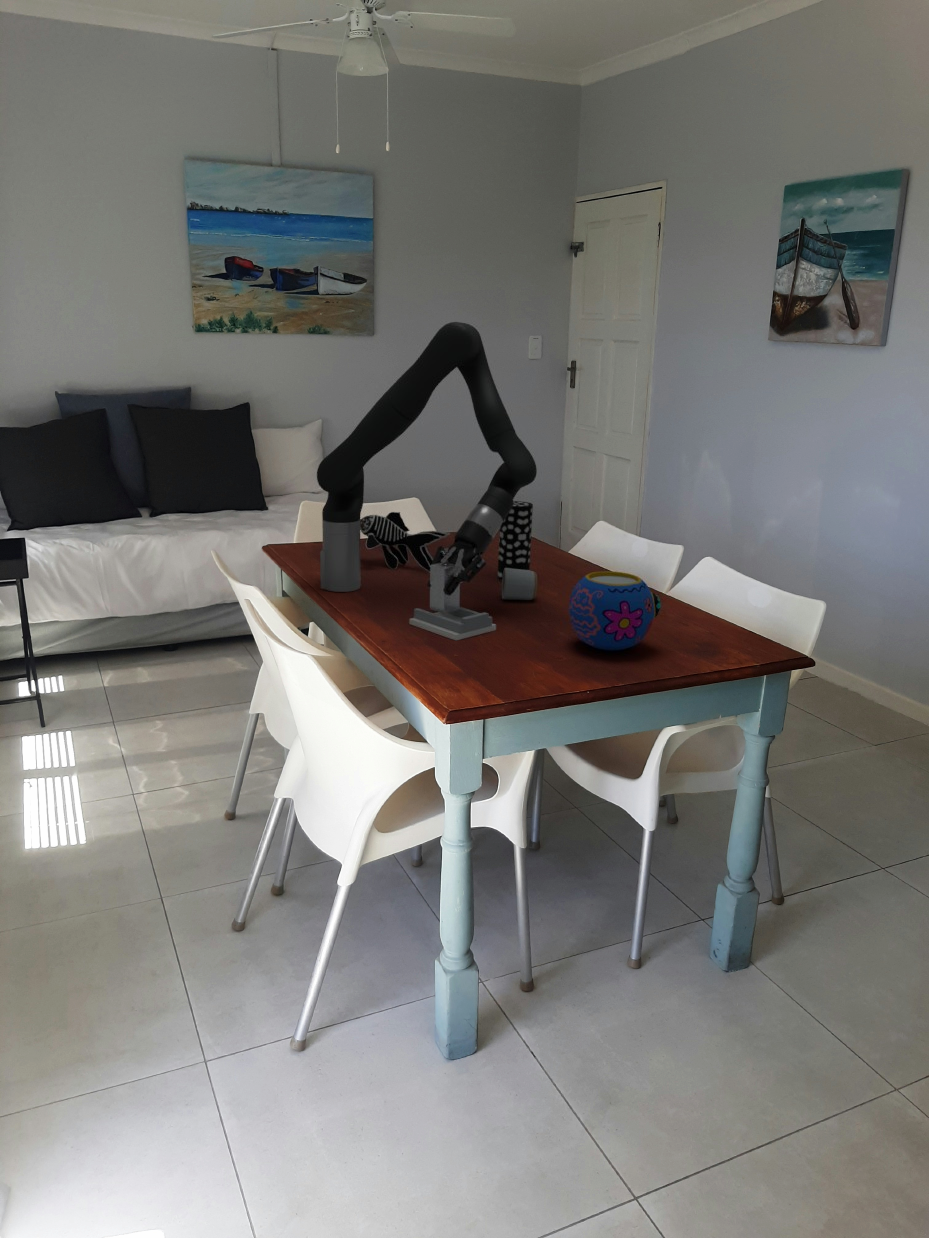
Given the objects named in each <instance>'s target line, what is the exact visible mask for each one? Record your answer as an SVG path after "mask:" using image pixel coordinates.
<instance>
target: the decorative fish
mask: <svg viewBox="0 0 929 1238" xmlns="http://www.w3.org/2000/svg"><path fill="white" fill-rule="evenodd" d="M408 532H411V531H410V529H409V528H408V526H406V523H405V522H404V519H403V518H402V516H401V512H400V511H398V512H397V511H391V512H389V513H388V514H387V515H386V516H382V515H378V514H370V515H365V516H364V517H361V518H360V533H362V534H363V535H364V536H366V537H367V539H366V542H365V547H366V549H367V550H371V549H374V548H376V547H378V546H381V547H380V548H381V550H382V554H383V559H384V560H385V561H384V562H385V563H386V565H387V567H388V568H390V569H391V570H396V569H397V568H398V564H400V565H402V566H406V565H407V564H408V563H409V560H410V558H409V553H410V555H411V557H412V558H413V559H414V560H415V563H417V564H418V565H419V566H420V567H421V568H422V569H424V570H425V571H427V572H428V573H430V565H431V564H432V561H433V559H434V557H433V556H432V555H431V553H430V552H429V551H428V548H427V546H428V545H430V544H432V543H435V542H437V541H440V540H441V539H444V538H447V537H448V536H451V533H449V532H444V531H440V530H427V531H425V530H424V531H419V532H417V533H408ZM395 546H396V547H395Z"/></svg>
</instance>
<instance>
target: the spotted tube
mask: <svg viewBox="0 0 929 1238" xmlns="http://www.w3.org/2000/svg"><path fill="white" fill-rule="evenodd" d="M513 502H514V503H513V506H512V509H511V510H510V512H509V514H508V515H507V517H506V518H505V520H504V521H503V523H502V524H501V526H500V529H499V531H498V557H497V577H496V578H497V580H498V581H499V582H502V579H503V571H504V568H512V569H521V570H530V569H531V568H530V567H531V550H532V549H531V546H532V532H533V531H532V528H533V509H534V508H533V507H534V506H533V503H532V502H527V501H521V500H520V501H519V500H513ZM530 571H531V570H530Z"/></svg>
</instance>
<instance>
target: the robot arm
mask: <svg viewBox="0 0 929 1238" xmlns="http://www.w3.org/2000/svg"><path fill="white" fill-rule="evenodd" d="M485 351H486V350H485V346H484V344H483V340H482V337H481V334H480V332H479V331H478V329H476V327H475V326H473V325H471V324H470V323H467V322H466V323H465V322H459V321H451V322H449V323H445V324H444V325H443V326H442V327H440V328H439V329H438V331H437V332H436V333H435V335H434V336H433V337H432V339H431V340H430V341H429V343H428V344H427V346H426V347H425V349H424V350H423V351H422V352H421V354H420V355H419V356H418V358H417V359H416V360H415V362H414V363H413V364H412V365H411V366H410V367H409V368H408V369H406V371H404V372H403V374H401V376H400V377H399V378H398V379H397V380H396V381H395V382H394V383H393V384H392V385H391V386H390V387H389V388H388V389H387V390H386V391H385V392H384V393H383V394H382V395H381V397H380V398H379V399H378V400H377V401H376V402H375V403H374V405H373V406H372V407H371V409H370V410H369V411H368V412H367V414H365V416H364V417H363V418H362V419H361V421H360V422H359V423H358V424H357V426H356V427H355V428H354V429H353V431H351V433H350V434H349V436H348V437H347V438H346V439H344V441H342V442H341V443H340V444H339V445H338V446H337V447H335V449H333V450H332V451H331V452H330V453H329V454H328V455H326V456H325V457H324V458H323V459H322V460H321V462H320V463H319V465H318V467H317V469H316V481H317V483H318V486H319V487H320V488H321V489H322V490H323V491H325V492H326V493H327V494H328V495H327V499H326V502H325V504H324V506H323V507H322V512H321V517H322V518H321V519H322V524H321V525H322V549H321V550H320V551H319V553H320V556H319V557H320V558H319V561H320V563H319V564H320V568H319V569H320V571H319V572H320V573H319V574H320V589H321V590H326V591H328V592H329V591H330V592H337V593H339V592H341V593H344V592H346V593H347V592H354V591H357V590H359V589H360V588H361V582H362V581H361V580H362V579H361V530H360V519H361V515H362V514H361V513H362V509H363V505H364V496H365V495H364V489H365V470H364V467H365V466H366V465H367V464H368V462H369V461H371V459H372V458H373V457H374V456H375V455H377V454H378V453H380V451H382V450H383V449H385V448H387V447H388V446H389V445H390V444H392V443H393V442H394V441H396V440H397V439H398V438H399V437H400V436H401V435H403V434H404V433H405V432H406V431H407V430H408V428H410V426H411V425H412V424H413V423H414V422H415V421H416V420H417V419H418V418H419V416H420V415H422V412H423V411H424V409H425V408H426V406H427V404H428V402H429V400H430V398H431V396H432V394H433V393H434V391H435V390H436V388H437V387H438V386H439V384H440V383H441V382H442V381H443V380H444V379H445V378H446V377H447V376H448V375H450V373H451V372H452V371H454V370H455V369H457V370H459V372H460V374H461V376H462V378H463V380H464V381H465V383H466V386H467V389H468V391H469V395H470V399H471V401H472V402H471V403H472V406H473V407H472V408H473V411H474V412H473V413H474V415H475V419H476V422H477V424H478V427H479V429H480V432H481V434H482V437H483V438H484V441H485V444H486V445H487V446H488V448H489V450H490V451H491V452H493V453H497V454H498V455H499V457H500V458H501V460H502V461H503V463H502V464H501V465H500V466H499V467H498V468H497V469H496V471H495V473H494V474H493V476H492V478H491V481H490V482H489V485H488V488H487V490H486V491H485V492H484V494H483V495H482V496H481V498H480V499H479V501H478V502H477V504H476V505H475V506H474V507H473V509H472V510H471V511H470V513H469V514H468V515H467V516H466V518H465V519H464V521H463V523H462V524H461V526H460V527H459V528H458V530H457V531H456V533H455V535H454V542H453V543H452V544H451V545H449V547H445V548H444V547H443V546H442V545H440V546H438V547H437V549H436V551H435V554H434V556H433V561H432V564H431V565H433V564H438V563H447V562H448V563H452V564H455V566H457V569H456V570H455V572H454V575H453V576H454V577H451V578H450V580H449V582H448V583H447V585H446V586H445V588H444V589H443V591H444V592H445V593H446V594H447V595H449V596H450V595H451V594H452V593H453V592H454V591H455V590H456V588H457V587H458V585H459V584H460V585H461V584H462V583H463V582H466V583H469V582H471V581H472V580H473V579H474V578H475V577H476V575H478V574H479V572H480V571H481V570H482V569H483V568H484V567H485V566H486V564H487V563H486V561H485V559H484V558H483V557H482V556H483V555H484V553H485V552H486V551H487V549H488V547H489V546H490V545H491V543H492V542H493V540H494V538H495V536H496V535H497V534H498V533H499V530H500V526H501V524H502V523H503V521H504V520H505V518H506V517H507V515H508V514H509V512H510V510H511V509H512V506H513V503H514V502H513V501H514V499H515V497H516V495H517V494H518V492H519V491H520V490H521V489H522V488H524V487H526V486H528V485H530V484H532V483H533V482H534V481H535V479H536V477H537V473H538V472H537V464H536V461H535V459H534V457H533V455H532V453H531V452H530V451H529V449H528V448H527V446H526V445H525V444H524V443H523V441H522V440H521V438H520V437H519V435H517V432H516V430H515V428H514V425H513V423H512V421H511V419H510V416H509V414H508V412H507V410H506V408H505V407H506V406H504V403H503V400H502V398H501V396H500V393H499V391H498V389H497V388H498V387H497V386H496V384H495V382H494V381H495V380H494V378H493V376H492V375H493V374H492V373H491V369H490V365H489V363H488V359H487V358H488V357H487V354H486V352H485ZM426 586H427V587H428V589H429V590H430V579H429V580H428V581H427V585H426Z"/></svg>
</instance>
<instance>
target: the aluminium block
mask: <svg viewBox="0 0 929 1238" xmlns="http://www.w3.org/2000/svg"><path fill="white" fill-rule="evenodd" d="M456 569H457V566H455V564H452V563H449V562H448V561H447V563H437V564H433V565H430V572H429V580H430V589H429V610H431V611H435V612H436V613H437V612H440V613H443V614H445V613H449V612H453V611H457V610H459V607H460V599H461V598H460V597H461V596H460V592H461V591H460V589H461V587H460V586H461V583H460V584H459V585H458V587H457V588H456V590H455V591H454V592H453V593H452V594H451V595H450V596H449V595H447V594H446V593H445V592H444V591H443V589H444V588H445V586H446V585H447V583H448V582H449V580H450V578H451V577H454V576H453V575H454V572H455V570H456Z"/></svg>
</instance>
